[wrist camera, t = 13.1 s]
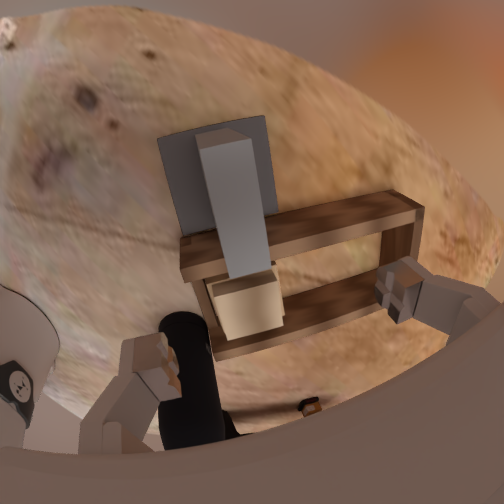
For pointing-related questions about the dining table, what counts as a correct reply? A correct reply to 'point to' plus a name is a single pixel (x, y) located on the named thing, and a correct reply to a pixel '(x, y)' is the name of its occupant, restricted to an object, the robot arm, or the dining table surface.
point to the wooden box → (302, 240)
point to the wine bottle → (191, 386)
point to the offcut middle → (225, 277)
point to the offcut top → (248, 304)
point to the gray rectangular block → (235, 200)
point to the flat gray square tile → (192, 178)
